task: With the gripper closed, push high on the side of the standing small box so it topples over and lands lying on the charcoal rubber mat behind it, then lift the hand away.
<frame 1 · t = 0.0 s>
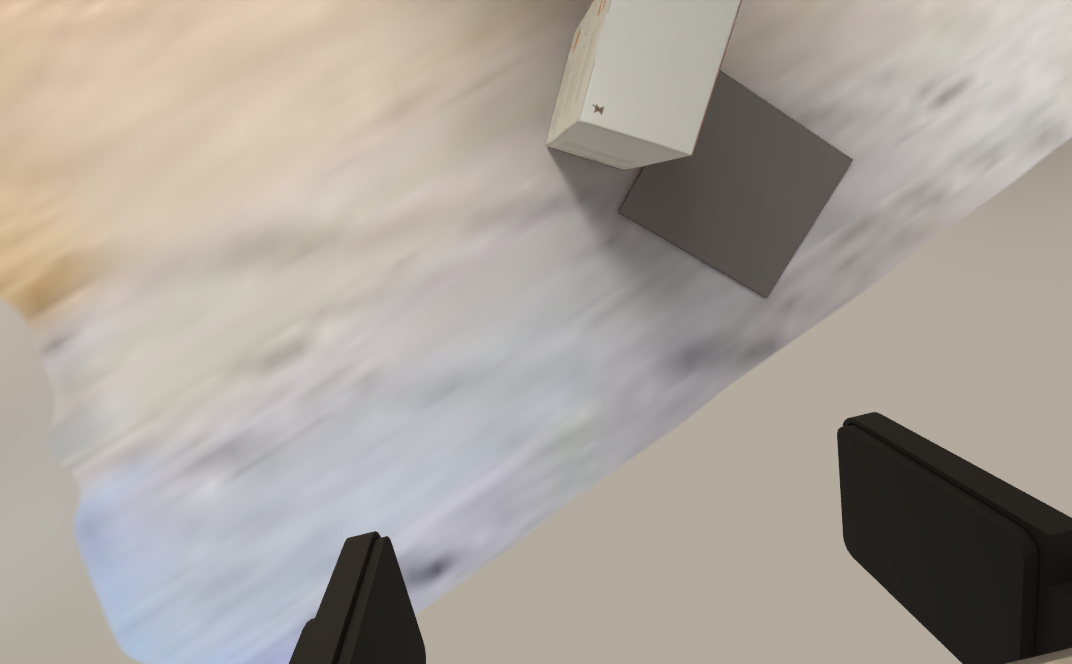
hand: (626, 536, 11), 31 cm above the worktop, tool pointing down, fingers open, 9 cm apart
small box: (600, 103, 38), on the worktop
mat: (735, 185, 41), on the worktop
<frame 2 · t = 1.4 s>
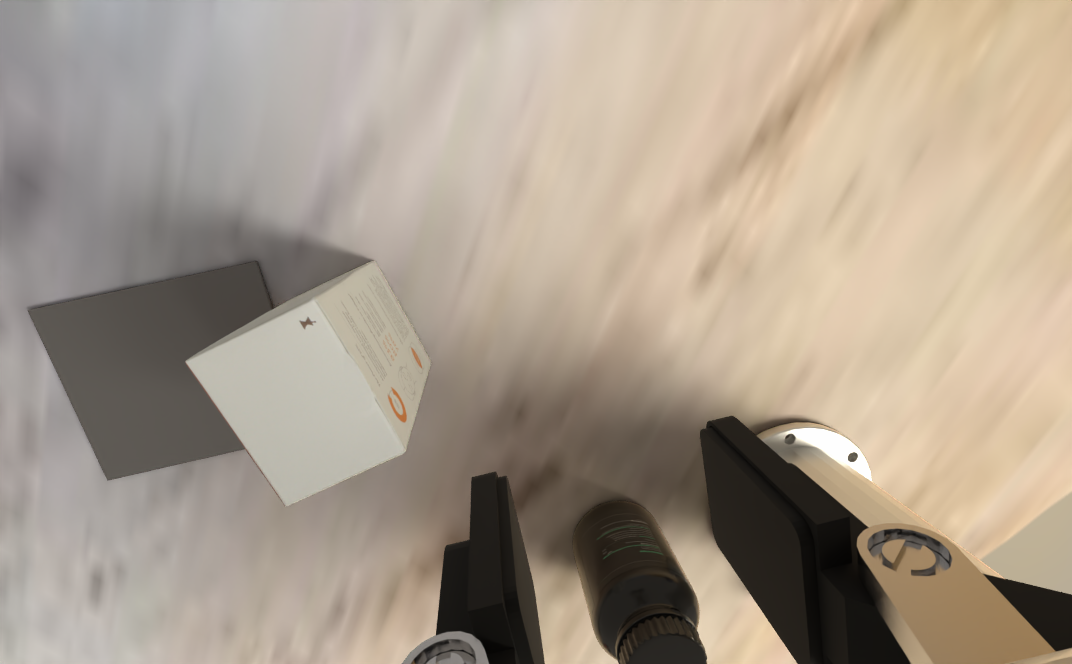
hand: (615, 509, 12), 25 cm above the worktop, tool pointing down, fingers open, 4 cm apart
small box: (363, 332, 36), on the worktop
supplement bottle: (614, 535, 42), on the worktop
mat: (181, 373, 35), on the worktop
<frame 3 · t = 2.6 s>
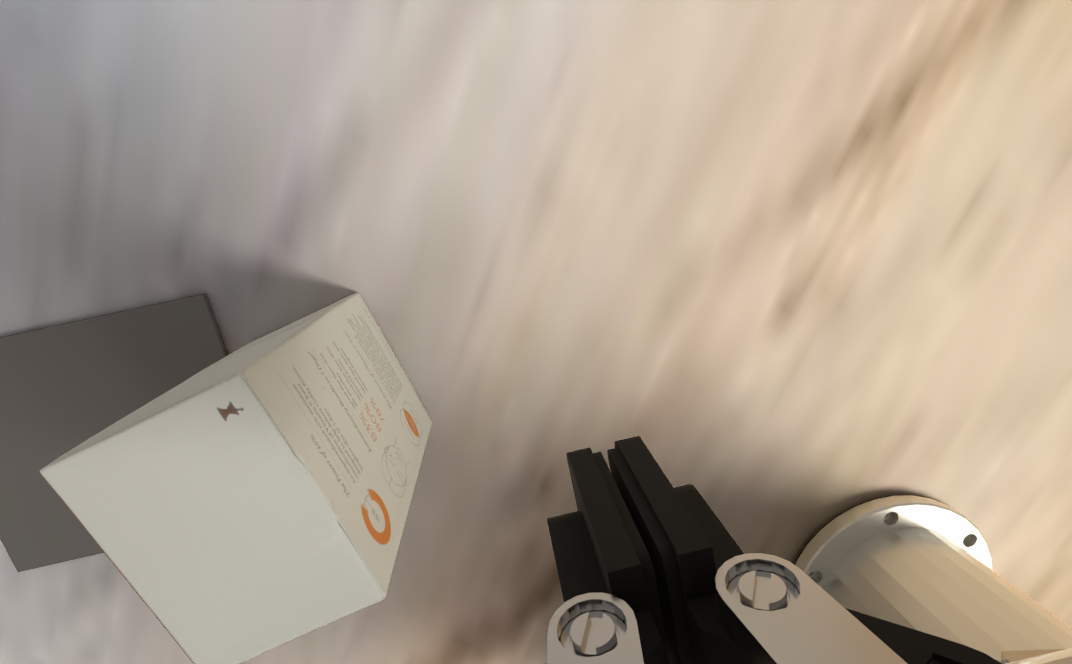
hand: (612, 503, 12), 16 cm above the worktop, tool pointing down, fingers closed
small box: (344, 383, 28), on the worktop
mat: (109, 437, 27), on the worktop
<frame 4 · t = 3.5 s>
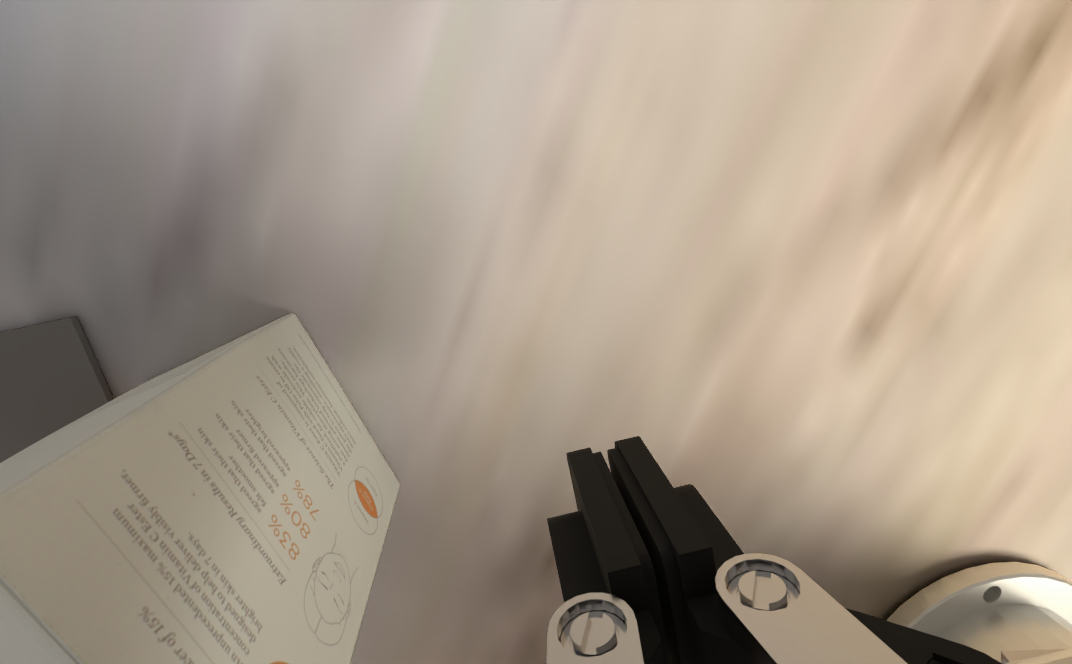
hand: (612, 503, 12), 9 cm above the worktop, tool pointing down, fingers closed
small box: (280, 435, 20), on the worktop
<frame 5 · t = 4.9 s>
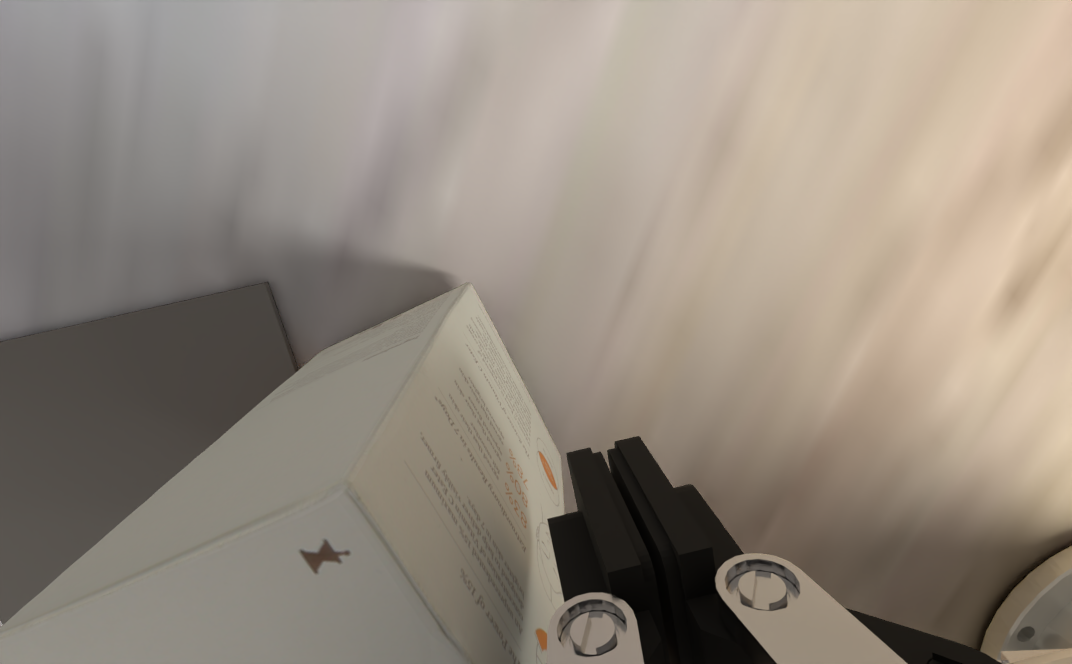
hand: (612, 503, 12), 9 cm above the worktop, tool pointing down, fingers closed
small box: (446, 403, 21), on the worktop, touching gripper
mat: (138, 474, 20), on the worktop
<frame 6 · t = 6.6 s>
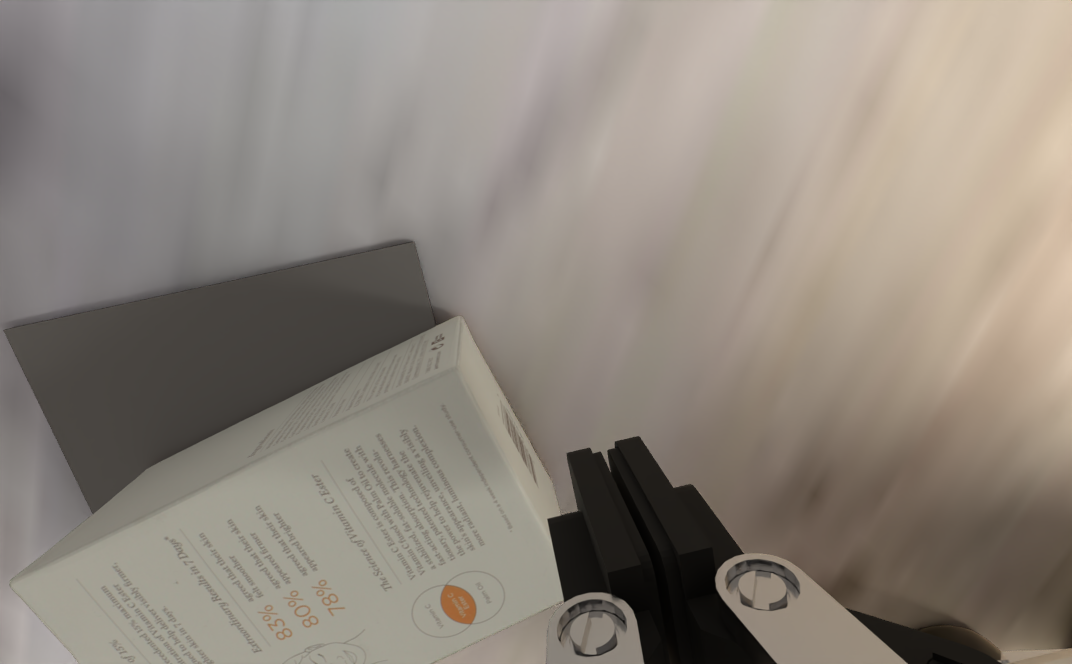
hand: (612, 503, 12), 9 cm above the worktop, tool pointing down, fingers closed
small box: (523, 434, 18), point 3 cm above the worktop, touching mat
mat: (272, 438, 20), on the worktop
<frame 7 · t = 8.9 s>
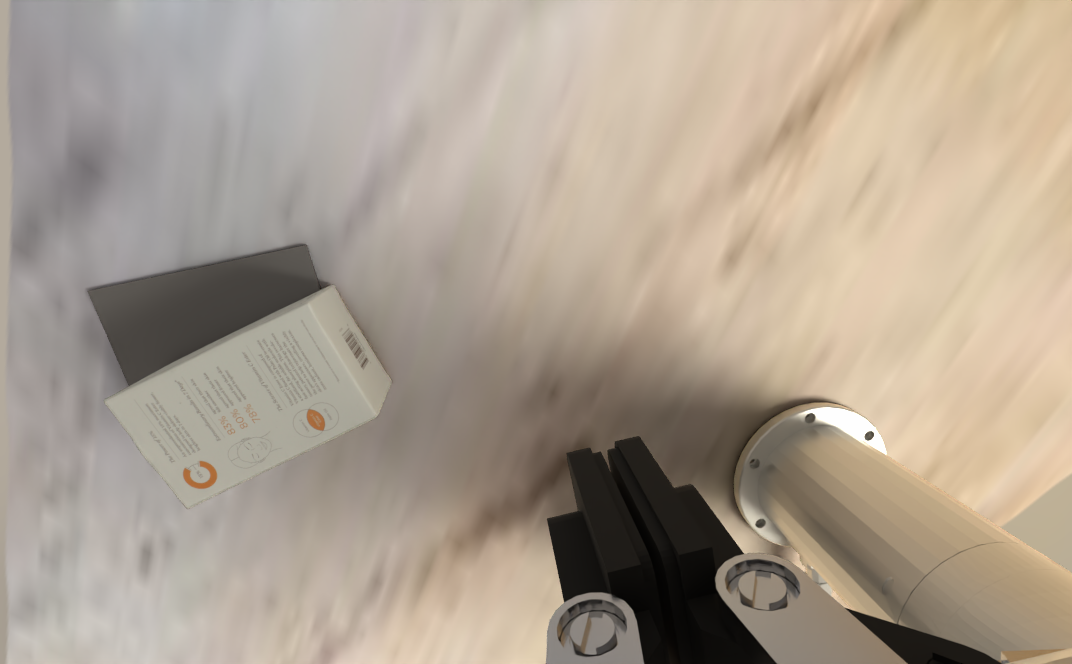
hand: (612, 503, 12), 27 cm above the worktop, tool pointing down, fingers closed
small box: (359, 345, 34), point 3 cm above the worktop, touching mat
mat: (231, 352, 37), on the worktop
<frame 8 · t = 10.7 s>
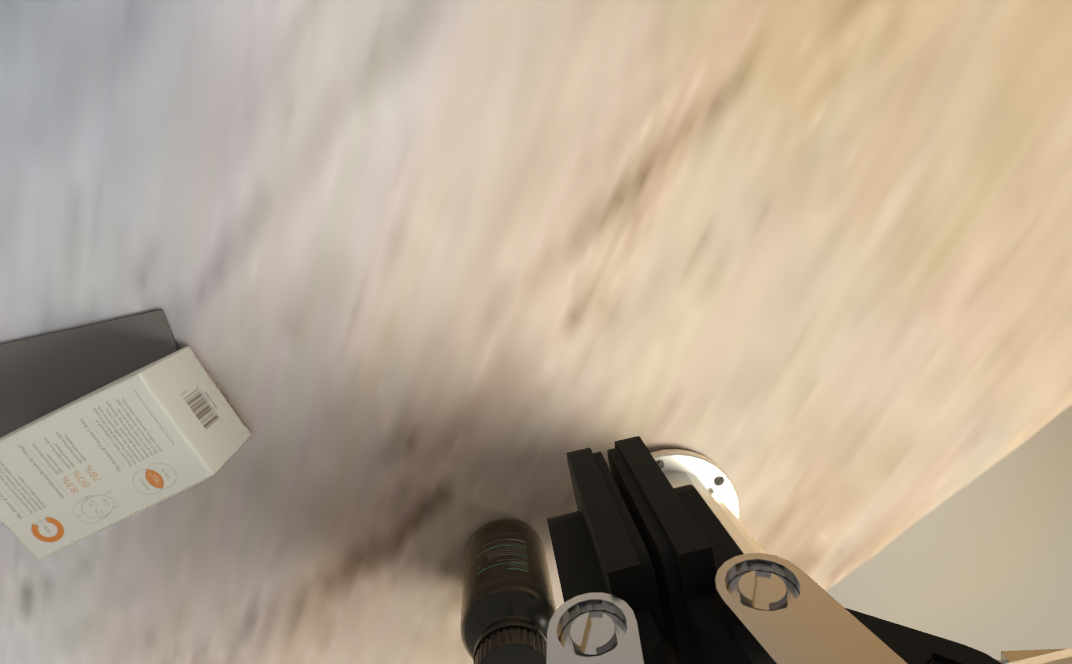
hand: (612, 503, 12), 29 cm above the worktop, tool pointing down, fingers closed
small box: (205, 405, 36), point 3 cm above the worktop, touching mat
supplement bottle: (504, 551, 46), on the worktop
mat: (97, 408, 39), on the worktop
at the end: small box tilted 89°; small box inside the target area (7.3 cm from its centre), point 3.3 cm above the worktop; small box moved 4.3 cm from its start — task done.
